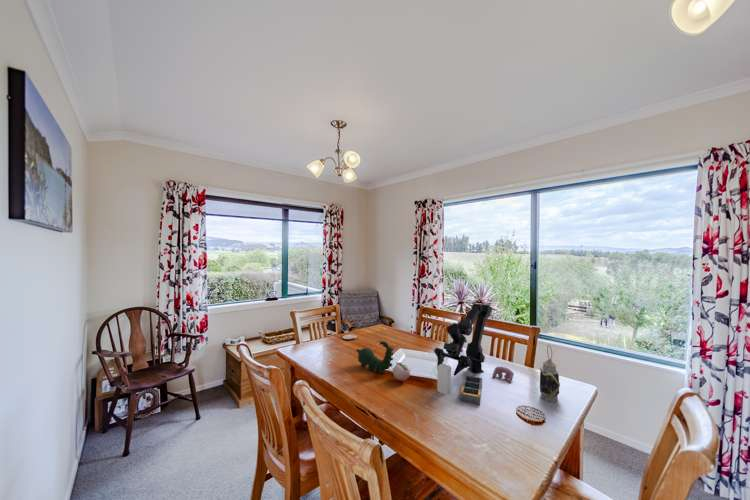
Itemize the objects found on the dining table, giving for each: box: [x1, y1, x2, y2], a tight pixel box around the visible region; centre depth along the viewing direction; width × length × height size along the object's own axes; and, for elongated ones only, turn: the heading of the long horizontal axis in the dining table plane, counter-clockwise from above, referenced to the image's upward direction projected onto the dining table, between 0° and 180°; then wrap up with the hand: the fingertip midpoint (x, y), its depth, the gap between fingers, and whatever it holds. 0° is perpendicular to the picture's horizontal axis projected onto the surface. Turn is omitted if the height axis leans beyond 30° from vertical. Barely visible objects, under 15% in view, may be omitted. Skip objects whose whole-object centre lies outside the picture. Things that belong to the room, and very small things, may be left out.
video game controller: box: [492, 366, 515, 384], centre depth 152 cm, size 10×5×7 cm, turn 47°
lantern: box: [539, 344, 561, 403], centre depth 132 cm, size 9×8×25 cm
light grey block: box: [436, 363, 452, 396], centre depth 138 cm, size 4×5×12 cm
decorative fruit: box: [392, 361, 411, 382], centre depth 148 cm, size 9×8×10 cm
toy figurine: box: [355, 340, 394, 374], centre depth 163 cm, size 9×19×25 cm
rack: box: [459, 374, 483, 406], centre depth 137 cm, size 20×8×4 cm, turn 157°
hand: (445, 372), depth 139 cm, fingers open, 9 cm apart
